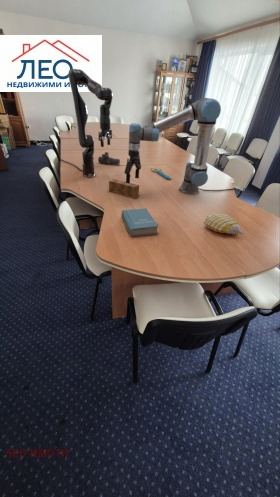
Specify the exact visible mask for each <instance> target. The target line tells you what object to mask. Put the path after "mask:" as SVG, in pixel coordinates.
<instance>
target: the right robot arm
mask: <svg viewBox="0 0 280 497" xmlns="http://www.w3.org/2000/svg"><path fill="white" fill-rule="evenodd" d="M221 111H222V107H221V104H220V102H219V100H217V99H215V98H211V97H210V98H209V97H203V98H200V99H198V100H197V101H194V102H193V103H190V104H188V106H187V107H185V108H183V109H180V110H179V111H177V112H174V113H171V114H170V115H167V116H165V117H163V118H161V119H158V120H156V121H154V122H152V123H149V124H144V126H142V124H141V123H137V122H136V123H135V122H134V123H130V124H129V129H128V156H129V158H127V159H126V165H125V168H124V172H123V173H124V174H125V182H126V183H128V184H130V183H131V171H132V168H133V166H135V174H134V178H135V179H139V178H140V170H141V169H142V163H141V156H140V148H141V141H142V142H158V141H159V139H160V133H162V132H164V131H165V132H166V131H167V130H169V129H172V128H174V127H177V126H179V125H182V124H184V123H186V122H188V121H195V120H197V125H198V133H197V140H196V146H195V153H194V159H193V161H188V162H186V165H185V169H184V175H183V181H182V182H181V185H180V187H179V191H180V193H183V194H186V195H195V194H196V195H197V194H198V193H199V191H200V190H201V191H204V192H221V191H222V192H223V191H233V190H235V188H227V189H226V188H225V189H202V188H199V187H202V186H204V185H205V184H207V182H208V180H209V176H208V168H209V166H208V165H207V161H208V156H209V155H208V154H209V150H210V144H211V139H212V138H211V137H212V133H213V128H214V126H215V125H216V123H217V119H218V118H219V117H220V115H221ZM244 190H248V191H251V189H250V188H249V187H247V188H246V187H245V188H244Z"/></svg>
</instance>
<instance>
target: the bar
mask: <svg viewBox="0 0 280 497" xmlns="http://www.w3.org/2000/svg"><path fill="white" fill-rule="evenodd" d="M108 192H109V193H114V194H118V195H120V196H125V197H128V198H132V199H137V198H138V197H139V195H140V184H136V183H131V182H130V184H128V183H126V180H125V181H124V180H121V179H116V178H111V179H109V180H108Z"/></svg>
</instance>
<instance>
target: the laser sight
mask: <svg viewBox="0 0 280 497" xmlns="http://www.w3.org/2000/svg"><path fill="white" fill-rule="evenodd" d="M97 161H98V163H99V164H103V165H104V164H105V165H110V166H112V165H116V166H119V165H120V163H121V159H119V158H113V157H110V155H109V152H107V151H105V152H104V153H101V156H98V159H97Z"/></svg>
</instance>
